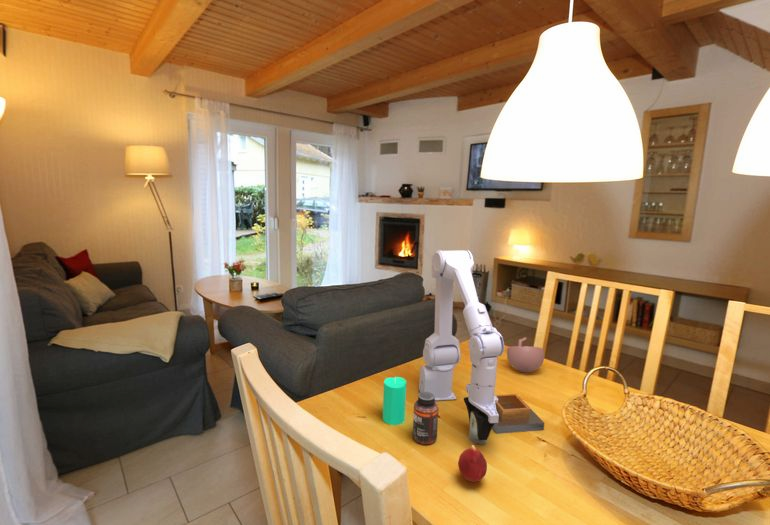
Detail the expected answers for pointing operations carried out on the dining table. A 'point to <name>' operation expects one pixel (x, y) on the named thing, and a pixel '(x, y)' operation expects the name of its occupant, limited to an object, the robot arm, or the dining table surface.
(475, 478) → the onion
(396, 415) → the candle
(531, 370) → the mortar and pestle
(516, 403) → the wooden socket on base
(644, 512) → the dining table surface
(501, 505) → the dining table surface
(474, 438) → the spout can
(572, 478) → the dining table surface
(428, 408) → the supplement bottle
